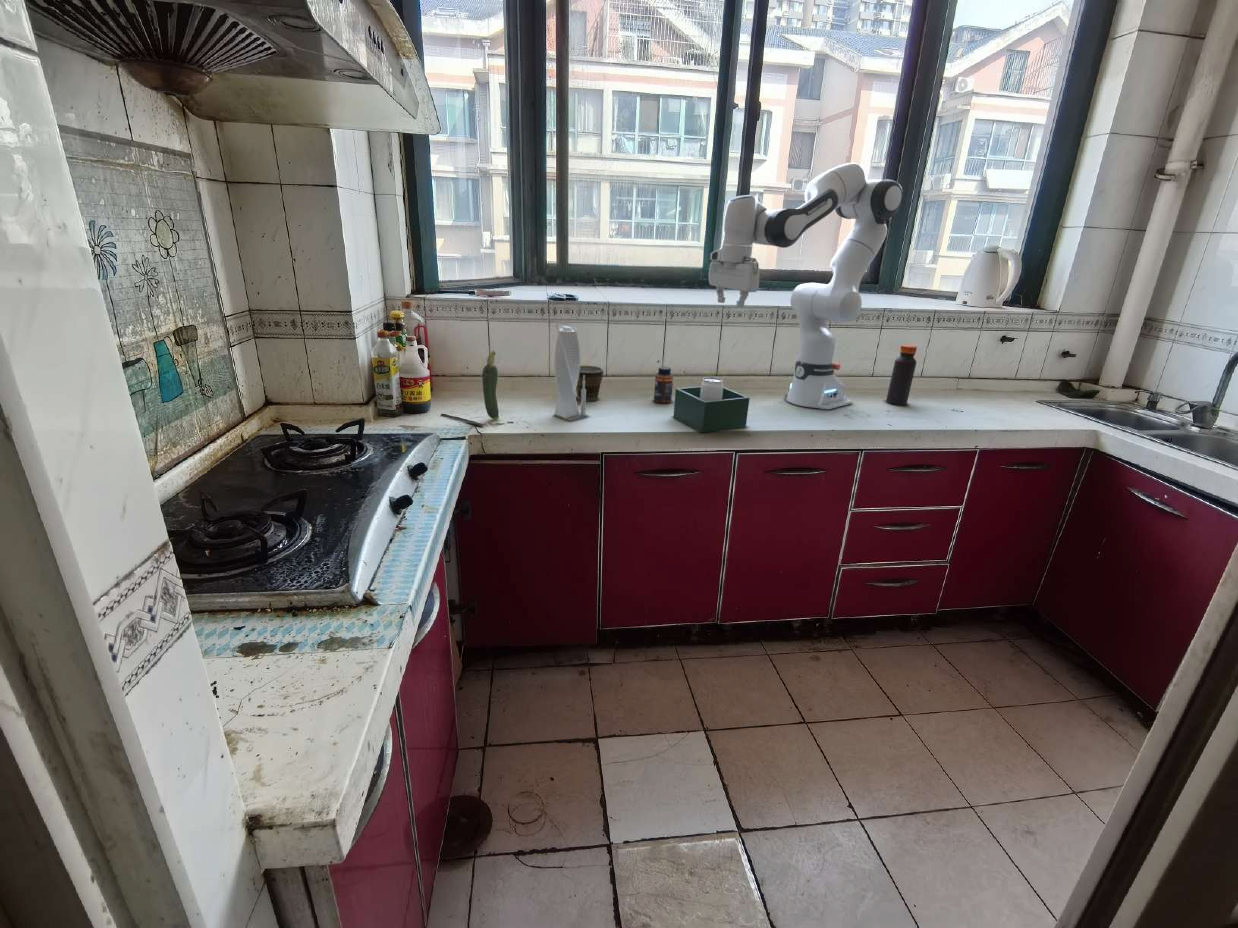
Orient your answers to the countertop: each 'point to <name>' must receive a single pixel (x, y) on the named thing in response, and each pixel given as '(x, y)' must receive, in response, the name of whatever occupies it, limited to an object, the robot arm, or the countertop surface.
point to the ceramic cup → (589, 382)
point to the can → (711, 389)
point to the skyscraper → (568, 373)
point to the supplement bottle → (663, 385)
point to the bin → (711, 410)
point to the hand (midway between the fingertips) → (730, 304)
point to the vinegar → (902, 376)
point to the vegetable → (490, 387)
